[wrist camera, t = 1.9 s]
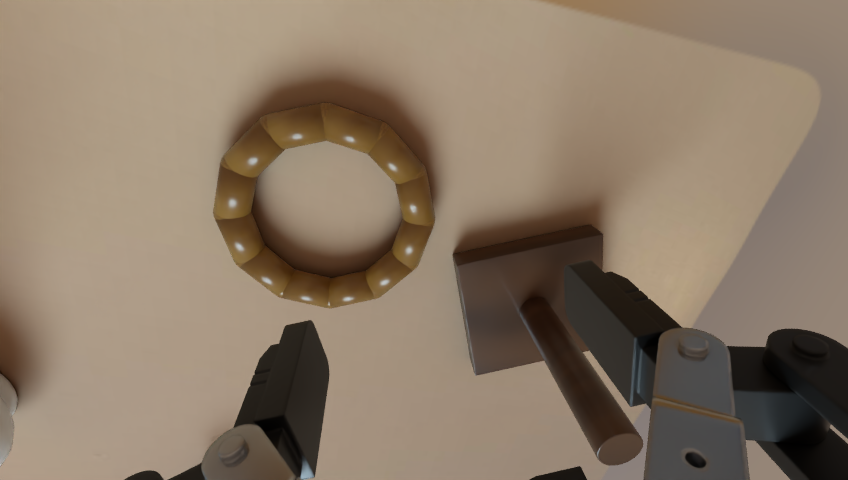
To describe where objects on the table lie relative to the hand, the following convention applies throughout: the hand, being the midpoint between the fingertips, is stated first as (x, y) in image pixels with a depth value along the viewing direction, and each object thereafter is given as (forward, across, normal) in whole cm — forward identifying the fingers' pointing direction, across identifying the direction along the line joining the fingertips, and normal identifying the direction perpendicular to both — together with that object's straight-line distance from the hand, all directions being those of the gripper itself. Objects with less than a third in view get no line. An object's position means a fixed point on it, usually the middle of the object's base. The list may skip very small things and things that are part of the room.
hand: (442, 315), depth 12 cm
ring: (+11, +5, 0) cm, 12 cm away
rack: (+12, -6, +9) cm, 16 cm away
